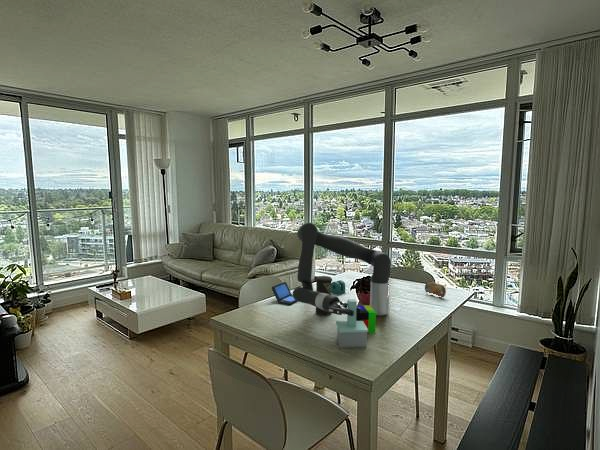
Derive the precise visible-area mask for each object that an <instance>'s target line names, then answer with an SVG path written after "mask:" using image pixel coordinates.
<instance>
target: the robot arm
mask: <svg viewBox="0 0 600 450" xmlns="http://www.w3.org/2000/svg"><path fill="white" fill-rule="evenodd" d="M296 235H297V238H298V239H299V240H300V242H301V252H300V257H299V261H298V265H297V276H296V277H297V278H296V279H297V281H298V282H299V283H300V284H301V286H297V287H295V288H294V289H293V291H292V295H293V298H294V299H295V300H296V301H298V302H299V303H302V304H308V305H311V306H313V307H315V308H316V307H318V308H320V309H322V310H325V311H328V312H329V313H331V314H333V315H339V316H342V315H344V316H345V315H346V316H347V315H350V316H354V311H352V310H349V309H348V300H347V302H345V301H344V300H342V301H341V299H340V298H339V297H338V296H335V295H332V294H331V295H329V294H326V293H321V292H318V291H316V290H314V288H313V287H314V286H313V282H312V275H313V274H312V273H313V260H314V252H315V251H314V250H315V246H318V247H321V248H323V249H325V250H327V251H329V252H333V253H335V254H338V255H340V256H343V257H345V258H350V259H354V260H355V259H356V260H360V261H362V262H365V263H367V264H369V266H370V265H371V266H372V267H373V268H372V274H371V275H370V292H369V294H370V295H369V305H370V306H371V307H372V309H373V310H374V311H375V312H376V316H385V315H389V313H390V312H389V309H390V307H389V305H390V296H388V295H389V279H390V276H391V265H392V264H391V258H390V256H389V255H388V254H387V253H385V252H383V251H381V250H376V249H372V248H369V247H366V246H363V245H361V244H360V243H358V242H356V241H353V240H352V239H349V238H346V237H344V236H340V235H336V234H335V235H334V234H333V235H332V234H328V233H323V232H321V231H318V227H317V226H316V224H314V223H313V222H305V223H303V224H302V225H301V226H300V227H299V228H298V229H297V233H296ZM356 312H357V313H361V308H359V307H357V308H356Z"/></svg>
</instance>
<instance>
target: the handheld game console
mask: <svg viewBox="0 0 600 450" xmlns="http://www.w3.org/2000/svg"><path fill="white" fill-rule="evenodd" d="M271 290H272V292H273V295H274V297H275V299H276V303H277V304H281V305H286V306H291V305H294V304H296V303H297V302H298V301H296V300H295V299H294V298H293V293H292V292H291V290H290V287H289V285H288V284H287V282H286V281H284V282H281V283H278V284H276V285H272V286H271Z"/></svg>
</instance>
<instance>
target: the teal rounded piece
mask: <svg viewBox="0 0 600 450" xmlns="http://www.w3.org/2000/svg"><path fill="white" fill-rule="evenodd" d="M345 293H346V282H345V281H344V280H342V279H340V280H336V281H332V282H331V294H334V295H338V296H340V295H343V294H345Z"/></svg>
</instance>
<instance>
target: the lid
mask: <svg viewBox="0 0 600 450" xmlns="http://www.w3.org/2000/svg"><path fill="white" fill-rule="evenodd" d="M347 301H348V309H349V310H352V311H354V316H350V315H347V314H346V316H347V318H346V319H347V320H336V321H335V324H336V328H337V327H338V330H339V333H345V332H368V329H367V327H366V325H365V324H364V322H363V321H356V308H357V306H358V305H357V304H358V301H357V300H356V298H348V299H347Z"/></svg>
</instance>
